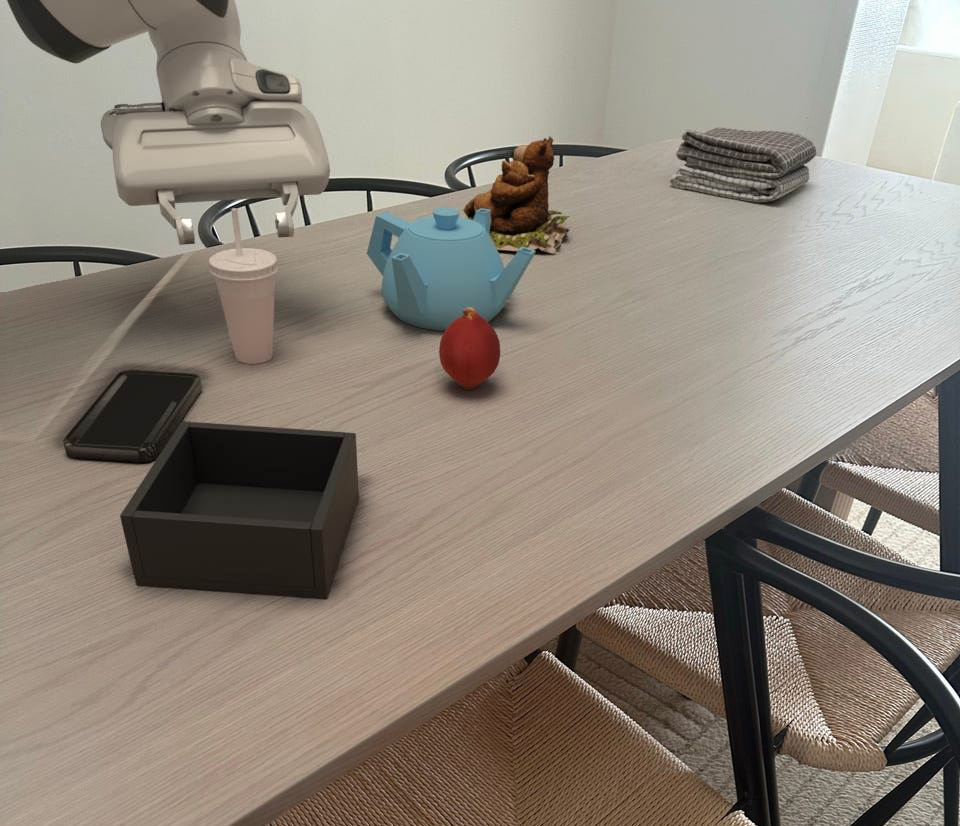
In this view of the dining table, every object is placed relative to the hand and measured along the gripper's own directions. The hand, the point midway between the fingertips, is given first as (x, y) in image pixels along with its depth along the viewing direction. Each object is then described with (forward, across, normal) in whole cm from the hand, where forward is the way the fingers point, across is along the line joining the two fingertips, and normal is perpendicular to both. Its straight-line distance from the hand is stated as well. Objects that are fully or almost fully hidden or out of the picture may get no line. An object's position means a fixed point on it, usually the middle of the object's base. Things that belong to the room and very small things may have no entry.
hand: (237, 238), depth 95 cm
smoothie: (+10, 0, +6) cm, 11 cm away
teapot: (+5, +22, +10) cm, 25 cm away
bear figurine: (-11, +39, +26) cm, 48 cm away
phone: (+17, -12, -2) cm, 21 cm away
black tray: (+33, -5, -18) cm, 38 cm away
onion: (+19, +19, -3) cm, 26 cm away
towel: (-21, +82, +37) cm, 92 cm away
